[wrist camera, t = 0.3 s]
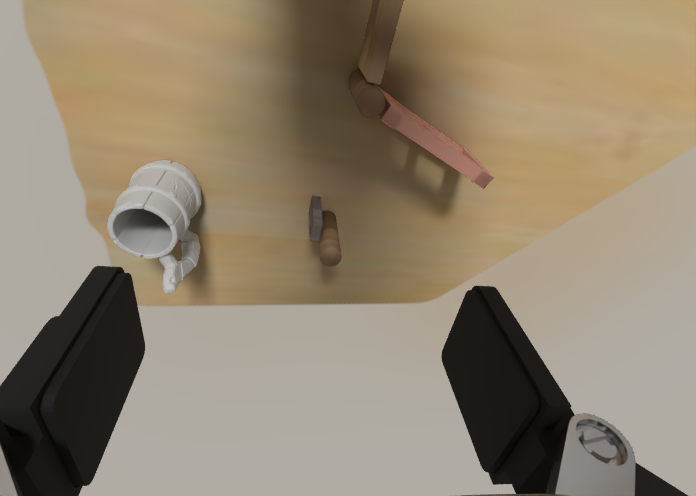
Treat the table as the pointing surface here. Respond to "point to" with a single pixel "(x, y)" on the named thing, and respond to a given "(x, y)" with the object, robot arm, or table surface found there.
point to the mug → (159, 218)
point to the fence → (370, 106)
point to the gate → (433, 141)
